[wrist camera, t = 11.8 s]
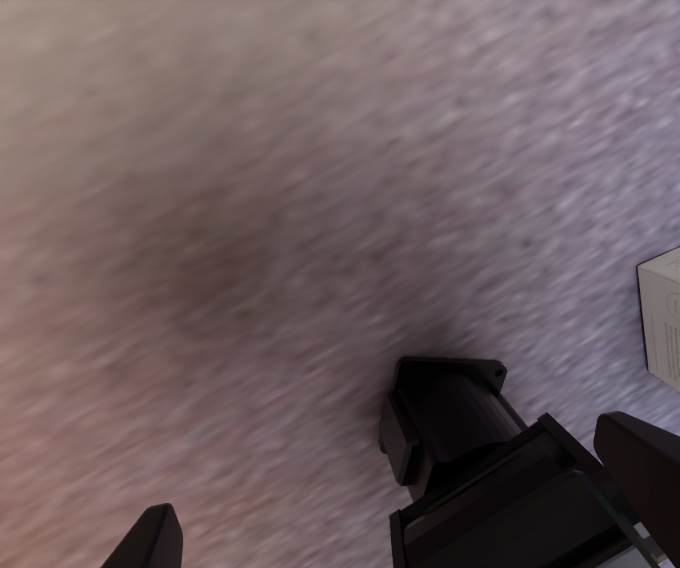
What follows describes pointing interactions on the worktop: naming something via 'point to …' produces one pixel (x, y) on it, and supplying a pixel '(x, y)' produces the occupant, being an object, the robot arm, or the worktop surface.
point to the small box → (662, 315)
